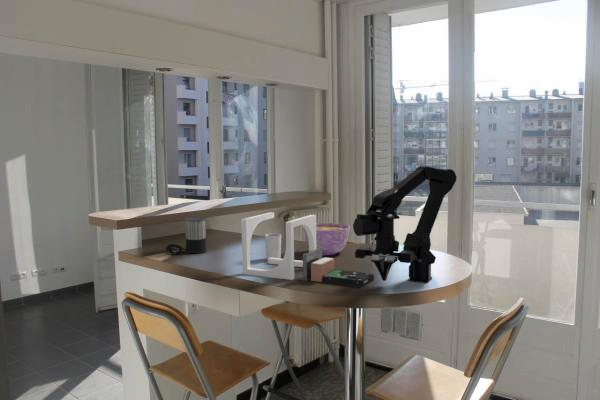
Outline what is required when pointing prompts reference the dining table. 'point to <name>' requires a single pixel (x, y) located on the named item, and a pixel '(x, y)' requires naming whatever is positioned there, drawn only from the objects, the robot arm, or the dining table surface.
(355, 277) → the disk drive
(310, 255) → the metal plate
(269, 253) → the drinking glass
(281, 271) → the white arched frame
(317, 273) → the book
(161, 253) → the dining table surface
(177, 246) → the milk frother
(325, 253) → the bowl of food
